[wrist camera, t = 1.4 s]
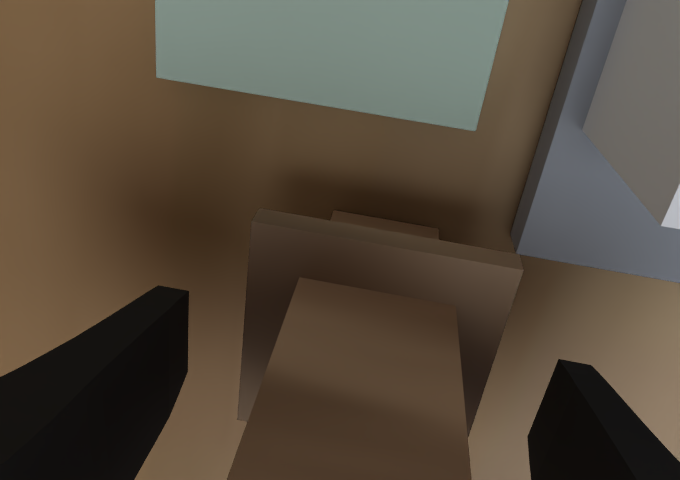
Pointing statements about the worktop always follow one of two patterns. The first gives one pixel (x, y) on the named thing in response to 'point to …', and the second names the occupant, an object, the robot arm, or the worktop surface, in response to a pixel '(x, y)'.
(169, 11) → the mat
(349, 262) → the brown block
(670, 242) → the breaker housing
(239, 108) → the worktop surface
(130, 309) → the robot arm
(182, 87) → the worktop surface
